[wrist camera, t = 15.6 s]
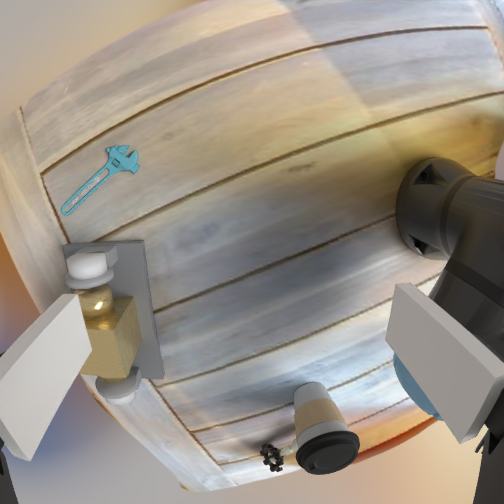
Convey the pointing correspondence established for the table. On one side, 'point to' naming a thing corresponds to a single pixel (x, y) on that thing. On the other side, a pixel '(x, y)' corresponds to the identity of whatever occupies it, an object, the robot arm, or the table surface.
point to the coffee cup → (321, 432)
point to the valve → (277, 455)
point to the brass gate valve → (109, 333)
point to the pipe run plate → (122, 285)
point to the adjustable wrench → (120, 161)
